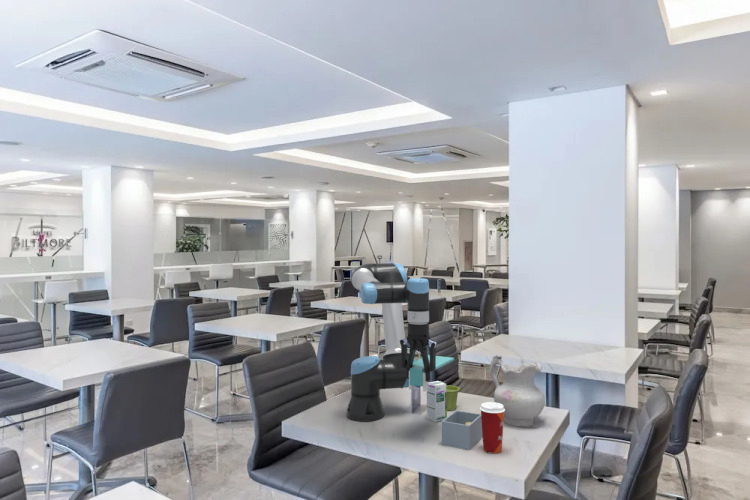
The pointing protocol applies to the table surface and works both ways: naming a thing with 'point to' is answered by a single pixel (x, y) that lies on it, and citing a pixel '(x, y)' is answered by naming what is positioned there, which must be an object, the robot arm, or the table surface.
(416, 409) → the table surface
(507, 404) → the ceramic pitcher
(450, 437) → the parts tub
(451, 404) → the plant pot
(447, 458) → the table surface
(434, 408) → the syrup box
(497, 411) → the coffee cup
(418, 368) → the snap lid
